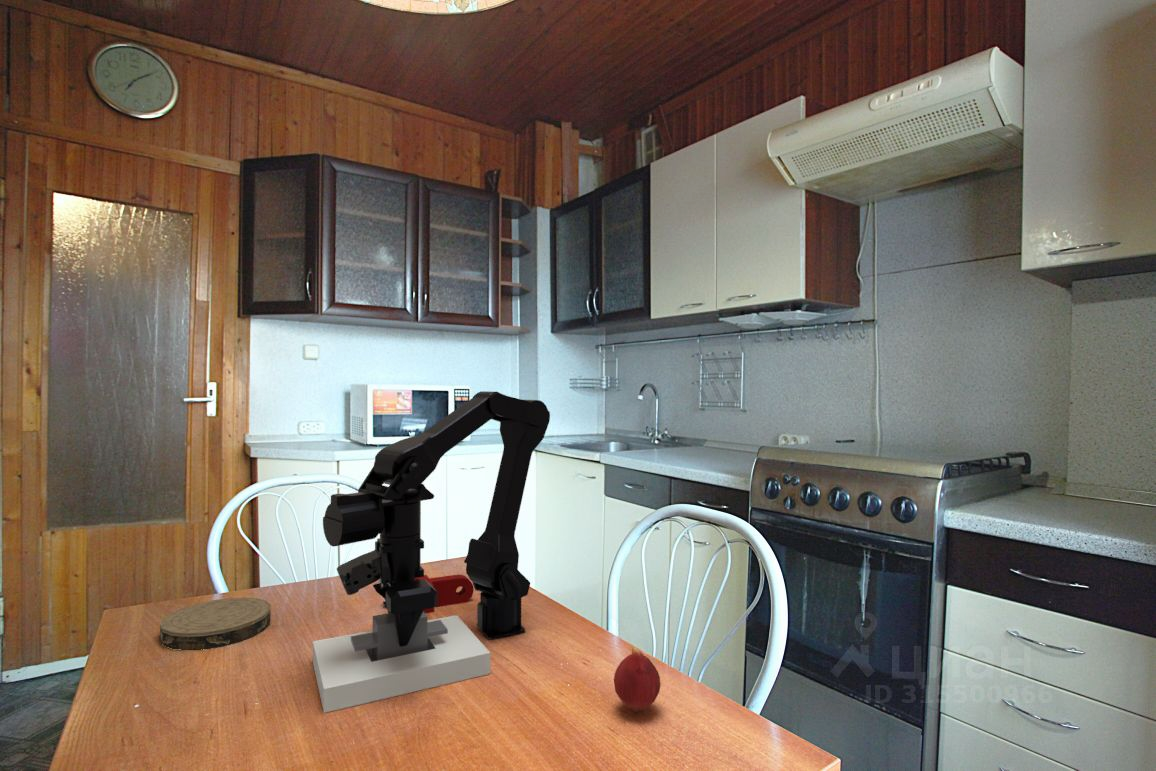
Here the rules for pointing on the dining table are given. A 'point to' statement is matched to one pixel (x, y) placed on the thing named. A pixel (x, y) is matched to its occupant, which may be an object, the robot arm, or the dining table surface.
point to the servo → (396, 637)
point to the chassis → (395, 667)
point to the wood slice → (215, 623)
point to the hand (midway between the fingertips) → (400, 640)
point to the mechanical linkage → (449, 589)
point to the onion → (637, 681)
